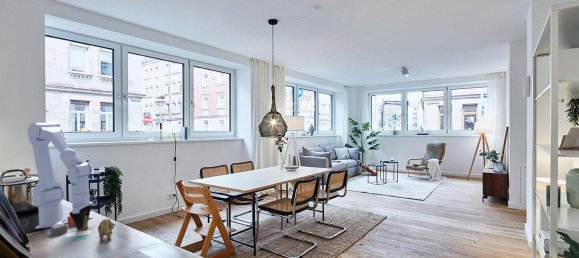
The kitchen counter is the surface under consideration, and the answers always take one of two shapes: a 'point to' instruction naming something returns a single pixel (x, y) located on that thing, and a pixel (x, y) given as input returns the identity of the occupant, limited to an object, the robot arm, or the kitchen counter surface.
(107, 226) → the lion figurine
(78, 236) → the game track
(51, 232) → the dome housing
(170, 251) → the kitchen counter surface
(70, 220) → the red die
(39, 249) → the kitchen counter surface
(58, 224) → the dome cap
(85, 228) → the walnut pawn
